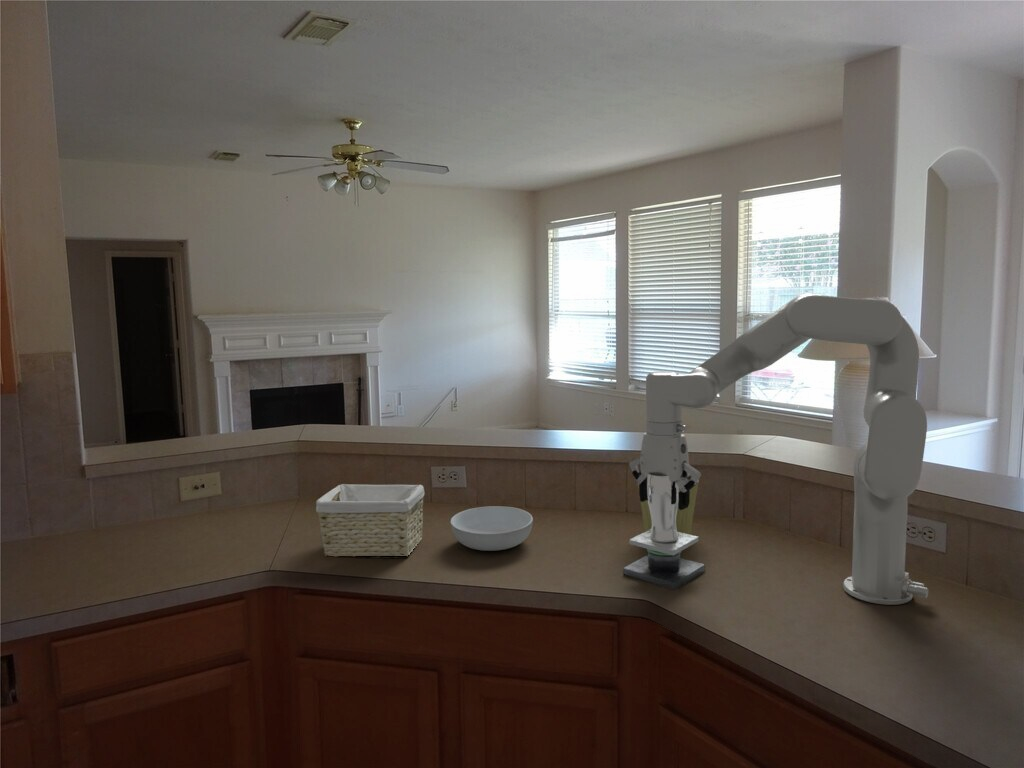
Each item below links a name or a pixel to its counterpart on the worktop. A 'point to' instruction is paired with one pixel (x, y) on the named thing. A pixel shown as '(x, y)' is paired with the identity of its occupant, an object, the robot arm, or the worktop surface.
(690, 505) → the potted cactus
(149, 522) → the worktop surface
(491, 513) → the serving bowl
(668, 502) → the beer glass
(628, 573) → the metal stand
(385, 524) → the storage basket
